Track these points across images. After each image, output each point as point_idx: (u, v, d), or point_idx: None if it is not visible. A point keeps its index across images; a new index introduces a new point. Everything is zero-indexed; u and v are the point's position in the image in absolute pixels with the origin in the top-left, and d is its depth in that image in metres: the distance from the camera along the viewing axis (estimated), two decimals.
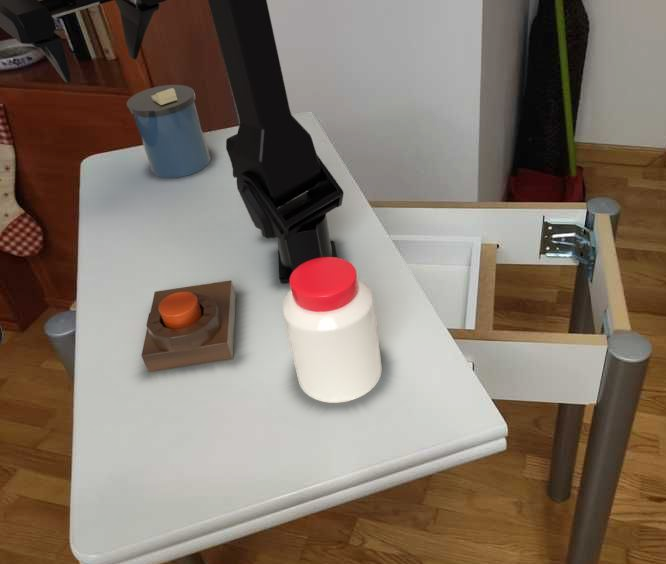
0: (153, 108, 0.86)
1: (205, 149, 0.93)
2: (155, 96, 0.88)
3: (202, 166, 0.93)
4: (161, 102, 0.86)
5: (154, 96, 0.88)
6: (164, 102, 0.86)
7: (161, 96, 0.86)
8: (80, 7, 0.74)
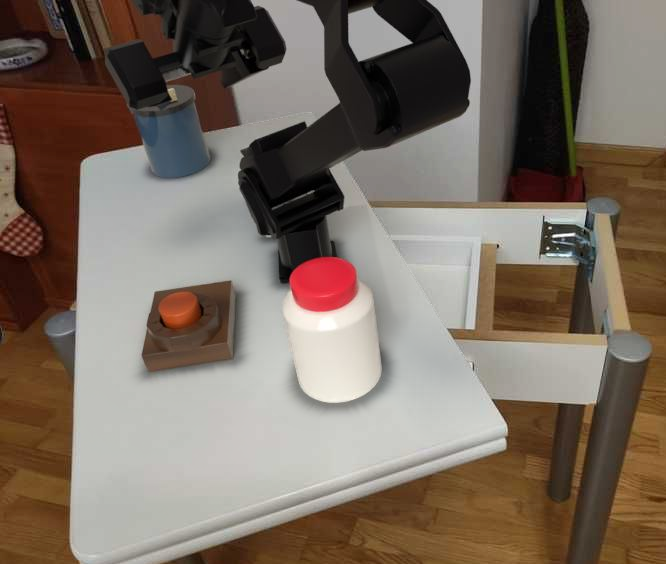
0: (153, 108, 0.86)
1: (205, 149, 0.93)
2: None
3: (202, 166, 0.93)
4: None
5: None
6: None
7: None
8: None
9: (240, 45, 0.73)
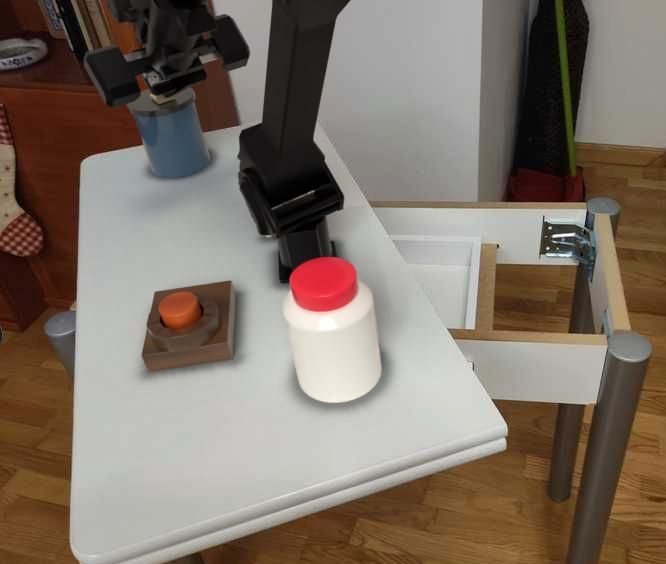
0: (153, 108, 0.86)
1: (205, 149, 0.93)
2: (153, 95, 0.88)
3: (202, 166, 0.93)
4: (159, 101, 0.87)
5: (152, 95, 0.88)
6: (162, 101, 0.87)
7: (160, 95, 0.86)
8: None
9: (208, 50, 0.80)
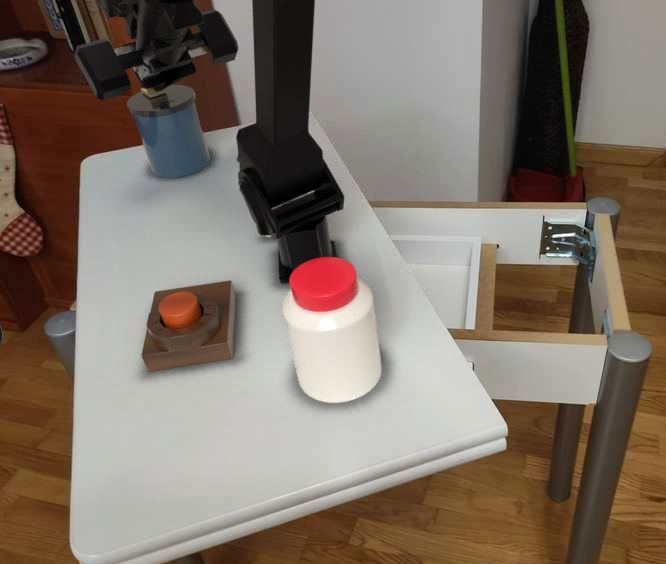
0: (153, 108, 0.86)
1: (205, 149, 0.93)
2: (144, 89, 0.90)
3: (202, 166, 0.93)
4: (150, 95, 0.89)
5: (143, 89, 0.90)
6: (153, 95, 0.89)
7: (150, 89, 0.88)
8: None
9: (197, 44, 0.82)
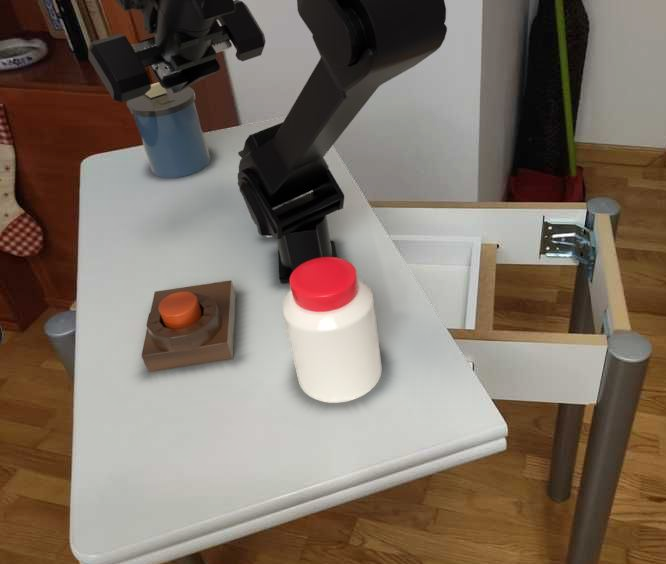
0: (153, 108, 0.86)
1: (205, 149, 0.93)
2: None
3: (202, 166, 0.93)
4: (151, 95, 0.88)
5: None
6: (154, 95, 0.89)
7: (151, 89, 0.88)
8: None
9: (220, 39, 0.75)
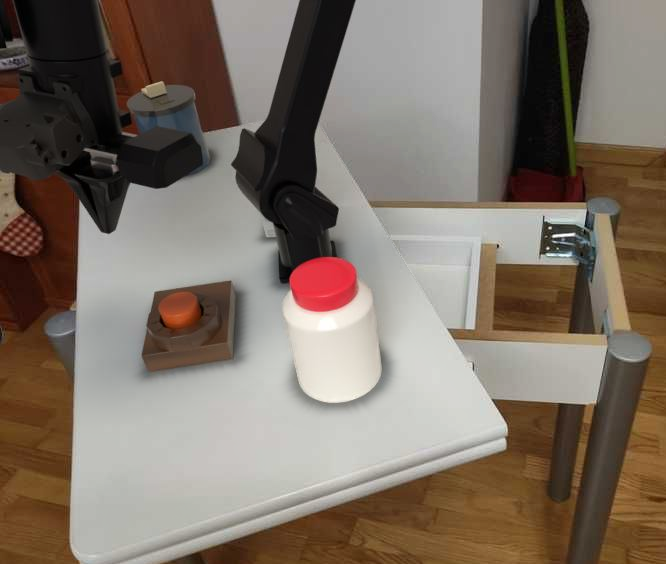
0: (153, 108, 0.86)
1: (205, 149, 0.93)
2: (145, 89, 0.90)
3: (202, 166, 0.93)
4: (151, 95, 0.88)
5: (143, 89, 0.90)
6: (154, 95, 0.89)
7: (151, 89, 0.88)
8: None
9: None
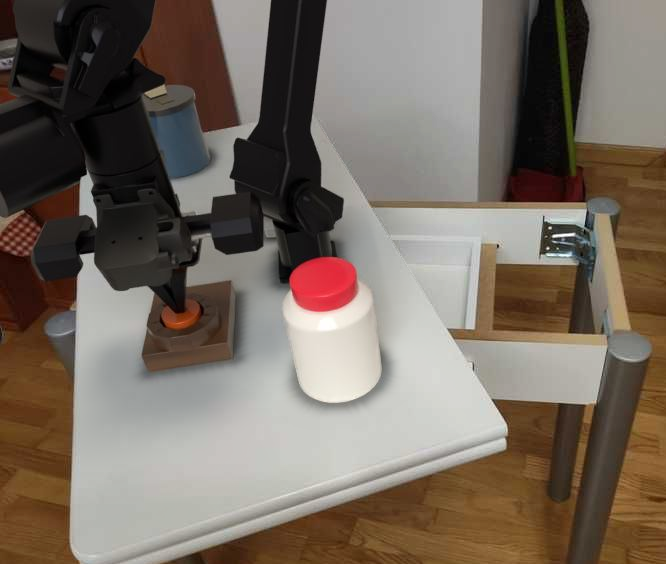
0: (153, 108, 0.86)
1: (205, 149, 0.93)
2: None
3: (202, 166, 0.93)
4: (151, 95, 0.88)
5: None
6: (154, 95, 0.89)
7: None
8: None
9: None
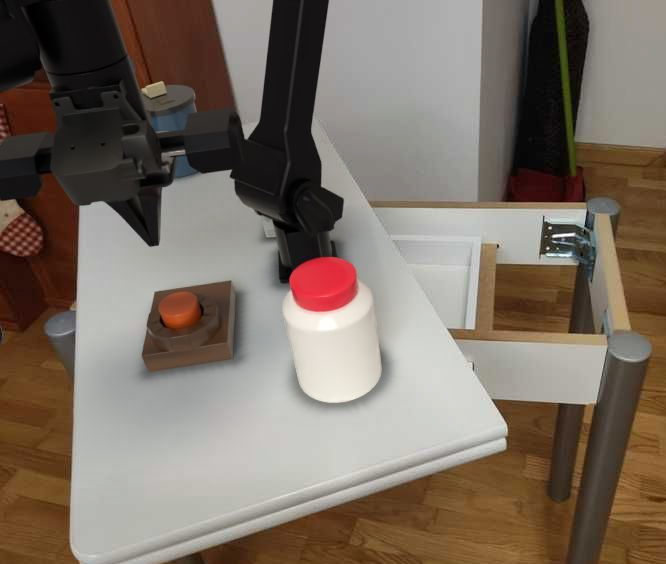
0: (153, 108, 0.86)
1: None
2: (145, 89, 0.90)
3: None
4: (151, 95, 0.88)
5: (143, 89, 0.90)
6: (154, 95, 0.89)
7: (151, 89, 0.88)
8: None
9: None
